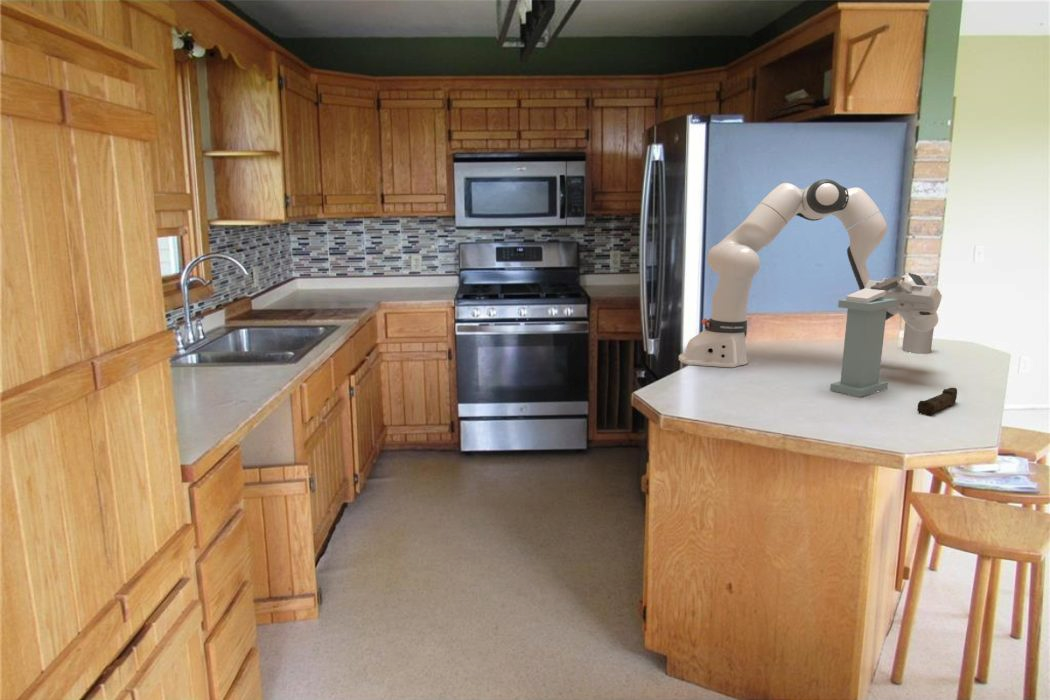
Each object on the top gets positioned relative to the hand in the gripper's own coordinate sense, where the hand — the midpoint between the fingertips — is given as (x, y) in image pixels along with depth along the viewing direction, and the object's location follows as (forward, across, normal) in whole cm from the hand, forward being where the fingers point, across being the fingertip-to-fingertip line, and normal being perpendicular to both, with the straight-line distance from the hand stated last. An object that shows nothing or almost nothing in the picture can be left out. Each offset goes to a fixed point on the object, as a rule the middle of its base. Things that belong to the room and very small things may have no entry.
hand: (892, 281), depth 210 cm
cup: (-64, -15, -2) cm, 66 cm away
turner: (+5, 0, +6) cm, 8 cm away
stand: (-4, 0, +33) cm, 33 cm away
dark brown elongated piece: (-4, +22, +33) cm, 40 cm away
